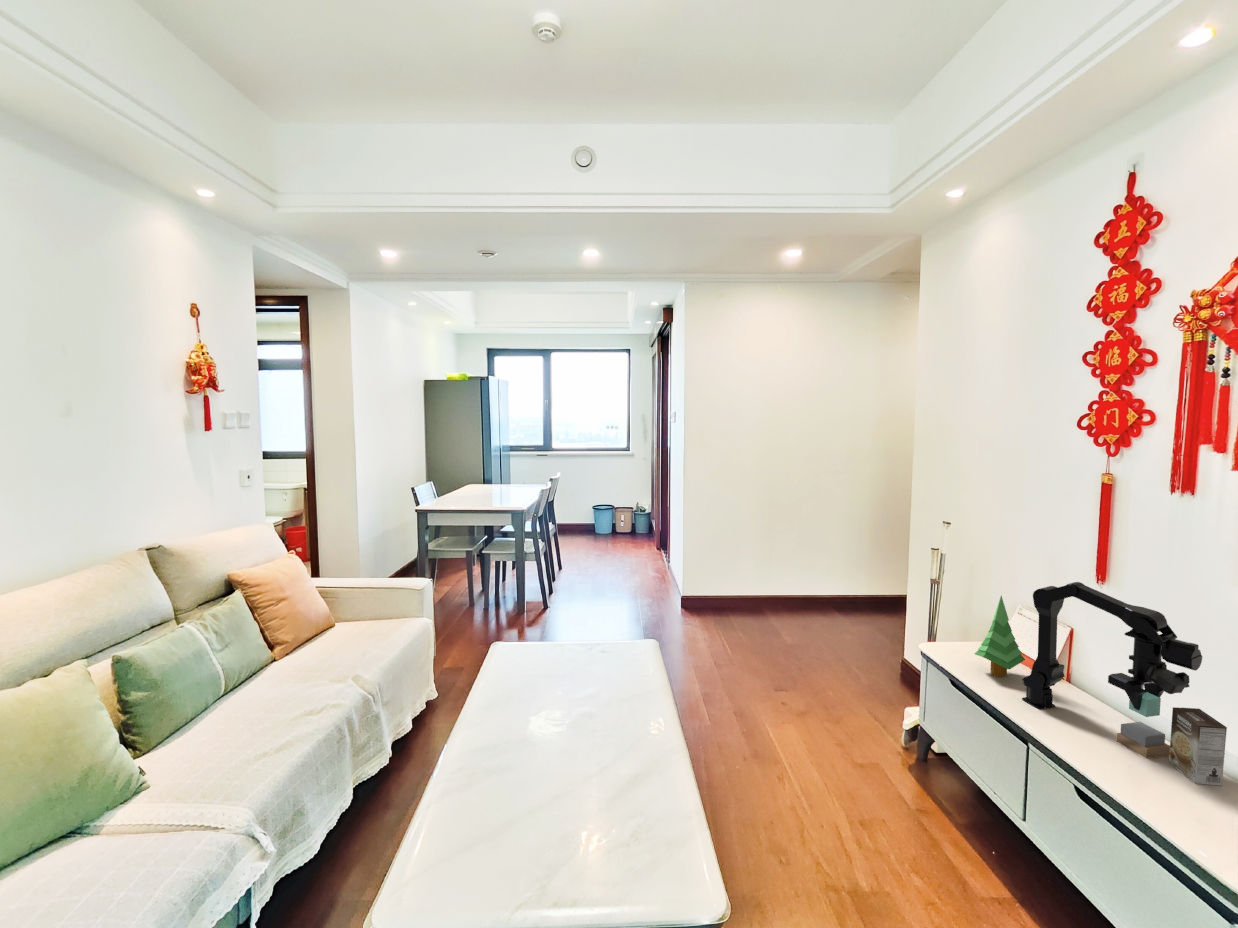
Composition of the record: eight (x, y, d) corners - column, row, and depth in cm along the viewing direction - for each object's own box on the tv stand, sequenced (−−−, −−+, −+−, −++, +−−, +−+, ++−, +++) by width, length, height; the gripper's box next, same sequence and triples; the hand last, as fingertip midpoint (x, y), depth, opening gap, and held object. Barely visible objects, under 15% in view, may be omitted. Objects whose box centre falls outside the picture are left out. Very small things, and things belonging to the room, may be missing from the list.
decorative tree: (965, 669, 206) (967, 591, 204) (996, 662, 211) (999, 586, 208) (1000, 686, 193) (1003, 603, 191) (1032, 678, 198) (1036, 597, 195)
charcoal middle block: (1120, 733, 160) (1121, 723, 160) (1139, 731, 161) (1140, 721, 160) (1144, 746, 153) (1145, 736, 153) (1164, 744, 154) (1165, 734, 154)
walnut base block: (1116, 742, 160) (1116, 733, 160) (1139, 739, 162) (1140, 730, 161) (1146, 759, 153) (1146, 749, 152) (1170, 756, 154) (1171, 746, 153)
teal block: (1129, 708, 158) (1129, 691, 158) (1142, 706, 159) (1143, 690, 158) (1146, 716, 154) (1147, 699, 153) (1159, 715, 154) (1160, 698, 154)
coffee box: (1167, 761, 151) (1170, 705, 149) (1194, 763, 150) (1198, 707, 148) (1194, 783, 142) (1198, 724, 140) (1224, 786, 141) (1228, 726, 139)
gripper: (1151, 671, 146) (1147, 727, 147) (1209, 664, 148) (1205, 719, 150) (1107, 654, 156) (1105, 706, 158) (1162, 647, 159) (1159, 699, 161)
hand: (1144, 708), depth 156 cm, fingers closed on teal block, 4 cm apart
